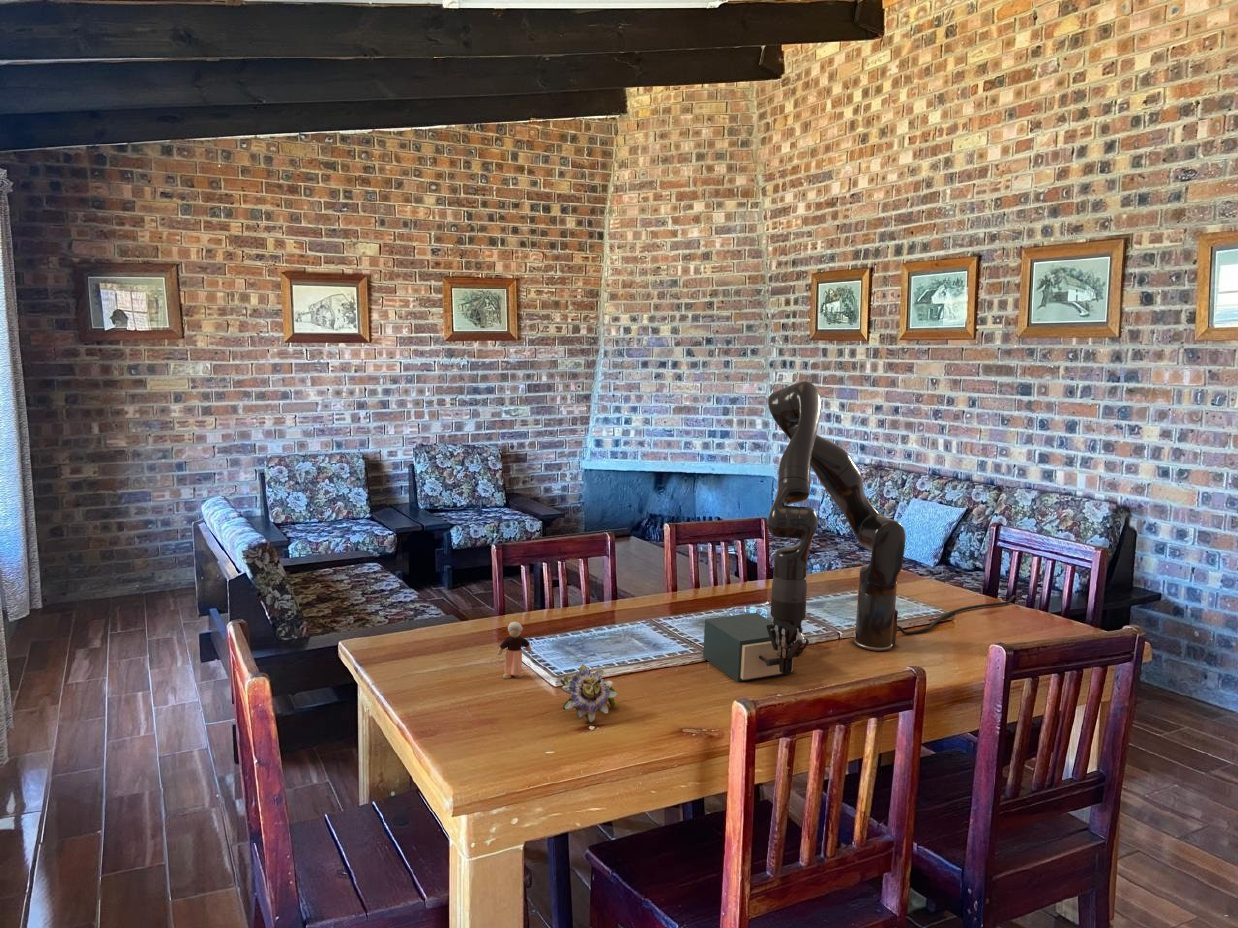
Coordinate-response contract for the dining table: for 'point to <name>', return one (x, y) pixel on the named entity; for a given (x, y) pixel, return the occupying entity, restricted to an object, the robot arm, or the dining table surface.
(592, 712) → the passion flower
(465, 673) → the dining table surface
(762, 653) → the drawer
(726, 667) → the cabinet
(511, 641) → the grandmother figurine
